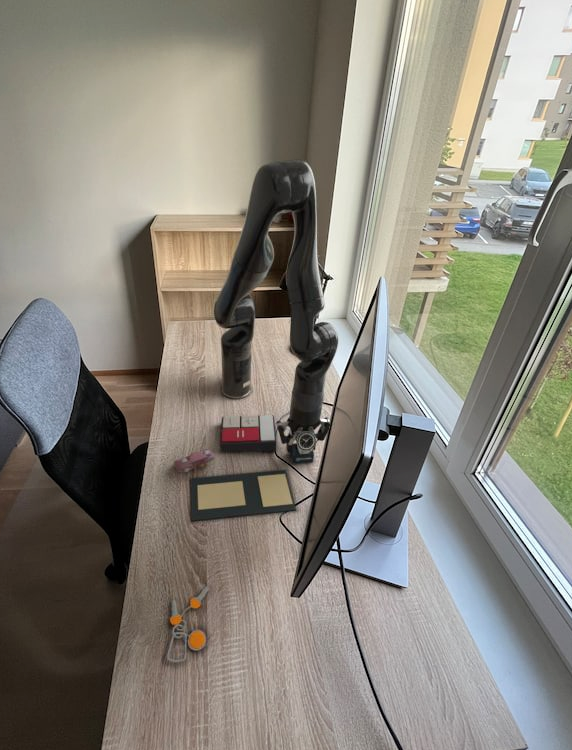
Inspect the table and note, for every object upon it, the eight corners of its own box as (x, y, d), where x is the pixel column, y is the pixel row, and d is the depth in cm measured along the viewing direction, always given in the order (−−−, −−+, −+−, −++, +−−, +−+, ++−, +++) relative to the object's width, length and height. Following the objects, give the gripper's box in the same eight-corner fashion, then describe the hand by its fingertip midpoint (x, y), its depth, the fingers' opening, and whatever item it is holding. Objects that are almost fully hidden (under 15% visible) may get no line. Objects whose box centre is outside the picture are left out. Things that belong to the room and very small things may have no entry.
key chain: (203, 664, 67) (203, 662, 67) (160, 662, 68) (160, 660, 67) (211, 587, 78) (211, 585, 78) (174, 586, 78) (173, 584, 78)
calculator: (221, 414, 115) (273, 412, 114) (222, 425, 117) (273, 423, 117) (219, 441, 106) (276, 440, 105) (220, 453, 108) (276, 451, 108)
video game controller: (178, 479, 102) (180, 471, 96) (172, 463, 104) (174, 454, 98) (214, 466, 106) (218, 457, 100) (207, 450, 107) (211, 441, 102)
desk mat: (191, 479, 100) (191, 477, 100) (285, 470, 103) (285, 469, 102) (191, 521, 90) (191, 519, 90) (296, 510, 93) (296, 508, 92)
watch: (294, 469, 103) (297, 439, 97) (287, 447, 109) (290, 416, 103) (315, 467, 103) (320, 437, 97) (307, 445, 110) (311, 415, 104)
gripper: (331, 389, 99) (322, 439, 109) (274, 393, 98) (270, 443, 107) (340, 409, 93) (330, 459, 103) (280, 413, 92) (275, 464, 101)
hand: (300, 451), depth 105 cm, fingers closed on watch, 4 cm apart
